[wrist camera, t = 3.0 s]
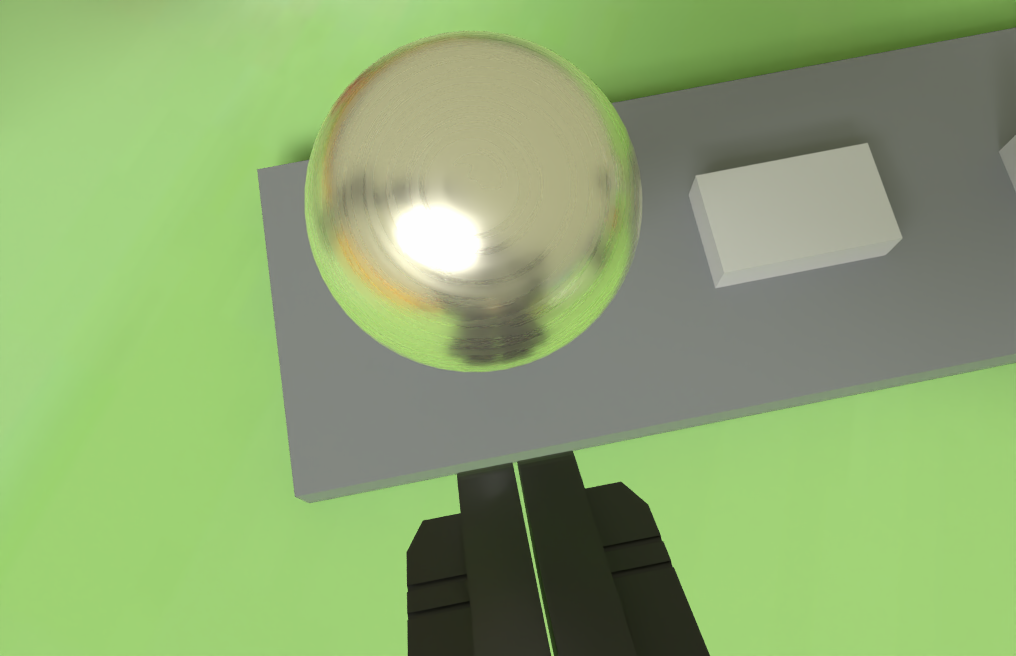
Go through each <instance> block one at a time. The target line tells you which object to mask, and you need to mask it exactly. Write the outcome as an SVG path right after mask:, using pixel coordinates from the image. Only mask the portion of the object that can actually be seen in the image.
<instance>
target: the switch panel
mask: <svg viewBox="0 0 1016 656" xmlns="http://www.w3.org/2000/svg"><path fill="white" fill-rule="evenodd" d="M611 104H612V105H613V106H614V108H615V109H616V111H617V113H618V115H619V116H620V118H621V120H622V122H623V124H624V125H625V127H626V129H627V132H628V135H629V137H630V140H631V142H632V145H633V147H634V150H635V154H636V158H637V162H638V166H639V170H640V178H641V187H642V220H641V227H640V234H639V240H638V244H637V247H636V251H635V254H634V258H633V261H632V263H631V266H630V268H629V270H628V273H627V275H626V277H625V280H624V281H623V283H622V285H621V287H620V288H619V290H618V292H617V293H616V295H615V297H614V299H613V300H612V301H611V302H610V304H609V305H608V306H607V308H606V309H605V310H604V311H603V313H602V314H601V315H600V316H599V317H598V318H597V319H596V320H595V321H594V322H593V323H592V324H591V325H590V326H589V327H588V328H587V329H586V330H585V331H584V332H583V333H582V334H580V335H579V336H578V337H576V338H575V339H574V340H572V341H571V342H570V343H568V344H567V345H565V346H564V347H562V348H560V349H558V350H557V351H555V352H553V353H551V354H550V355H548V356H545V357H543V358H540V359H538V360H536V361H533V362H531V363H528V364H525V365H521V366H517V367H513V368H510V369H505V370H497V371H489V372H459V371H452V370H444V369H439V368H435V367H431V366H428V365H424V364H420V363H418V362H415V361H413V360H410V359H408V358H406V357H403V356H401V355H399V354H397V353H395V352H394V351H392V350H390V349H388V348H387V347H385V346H383V345H381V344H380V343H378V342H377V341H376V340H375V339H373V338H372V337H371V336H369V335H368V334H367V333H365V332H364V331H363V330H362V329H361V328H360V327H359V326H358V325H357V324H356V323H355V322H354V321H353V320H352V319H351V318H350V317H349V316H348V315H347V314H346V313H345V312H344V310H343V309H342V308H341V306H340V305H339V304H338V302H337V301H336V300H335V299H334V297H333V296H332V294H331V292H330V290H329V289H328V287H327V285H326V284H325V282H324V280H323V278H322V276H321V274H320V271H319V269H318V267H317V264H316V262H315V259H314V257H313V253H312V250H311V246H310V242H309V239H308V234H307V227H306V219H305V182H306V174H307V167H308V163H309V160H305V161H300V162H295V163H289V164H284V165H279V166H273V167H268V168H263V169H257V171H258V180H259V189H260V197H261V206H262V215H263V223H264V232H265V241H266V249H267V258H268V267H269V275H270V284H271V293H272V301H273V310H274V319H275V328H276V336H277V345H278V354H279V362H280V371H281V380H282V388H283V397H284V406H285V414H286V423H287V432H288V440H289V449H290V458H291V466H292V475H293V484H294V493H295V497H297V498H299V499H301V500H303V501H306V502H308V503H312V502H317V501H322V500H327V499H332V498H337V497H342V496H347V495H352V494H357V493H362V492H367V491H372V490H377V489H382V488H388V487H393V486H398V485H403V484H408V483H413V482H418V481H423V480H428V479H433V478H438V477H443V476H448V475H453V474H457V473H459V472H464V471H470V470H475V469H480V468H485V467H490V466H495V465H501V464H506V463H511V462H512V463H513V462H517V461H520V460H525V459H530V458H535V457H541V456H546V455H551V454H556V453H561V452H566V451H573V450H579V449H584V448H589V447H594V446H599V445H604V444H609V443H614V442H619V441H624V440H629V439H634V438H639V437H644V436H649V435H654V434H659V433H664V432H669V431H674V430H679V429H684V428H689V427H694V426H699V425H704V424H709V423H714V422H719V421H724V420H729V419H734V418H739V417H744V416H749V415H754V414H759V413H764V412H770V411H775V410H780V409H785V408H790V407H795V406H800V405H805V404H810V403H815V402H820V401H825V400H830V399H835V398H840V397H845V396H850V395H855V394H860V393H865V392H870V391H875V390H880V389H885V388H890V387H895V386H900V385H905V384H910V383H915V382H920V381H925V380H930V379H935V378H940V377H945V376H950V375H955V374H961V373H966V372H971V371H976V370H981V369H986V368H991V367H996V366H1001V365H1006V364H1011V363H1016V28H1010V29H1005V30H1000V31H994V32H989V33H984V34H978V35H973V36H968V37H962V38H957V39H952V40H946V41H941V42H936V43H930V44H925V45H920V46H914V47H909V48H904V49H898V50H893V51H888V52H882V53H877V54H872V55H866V56H861V57H856V58H850V59H845V60H840V61H834V62H829V63H824V64H818V65H813V66H808V67H802V68H797V69H792V70H786V71H781V72H775V73H770V74H765V75H759V76H754V77H749V78H743V79H738V80H733V81H727V82H722V83H717V84H711V85H706V86H701V87H695V88H690V89H685V90H679V91H674V92H669V93H663V94H658V95H653V96H647V97H642V98H637V99H631V100H626V101H621V102H615V103H611Z"/></svg>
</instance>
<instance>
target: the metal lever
mask: <svg viewBox="0 0 1016 656" xmlns="http://www.w3.org/2000/svg"><path fill="white" fill-rule="evenodd" d="M305 219H306V227H307V234H308V239H309V242H310V246H311V250H312V253H313V257H314V259H315V262H316V264H317V267H318V269H319V271H320V274H321V276H322V278H323V280H324V282H325V284H326V285H327V287H328V289H329V290H330V292H331V294H332V296H333V297H334V299H335V300H336V301H337V302H338V304H339V305H340V306H341V308H342V309H343V310H344V312H345V313H346V314H347V315H348V316H349V317H350V318H351V319H352V320H353V321H354V322H355V323H356V324H357V325H358V326H359V327H360V328H361V329H362V330H363V331H364V332H365V333H367V334H368V335H369V336H371V337H372V338H373V339H375V340H376V341H377V342H378V343H380V344H381V345H383V346H385V347H387V348H388V349H390V350H392V351H394V352H395V353H397V354H399V355H401V356H403V357H406V358H408V359H410V360H413V361H415V362H418V363H420V364H424V365H428V366H431V367H435V368H439V369H444V370H452V371H459V372H489V371H497V370H505V369H510V368H513V367H517V366H521V365H525V364H528V363H531V362H533V361H536V360H538V359H540V358H543V357H545V356H548V355H550V354H551V353H553V352H555V351H557V350H558V349H560V348H562V347H564V346H565V345H567V344H568V343H570V342H571V341H572V340H574V339H575V338H576V337H578V336H579V335H580V334H582V333H583V332H584V331H585V330H586V329H587V328H588V327H589V326H590V325H591V324H592V323H593V322H594V321H595V320H596V319H597V318H598V317H599V316H600V315H601V314H602V313H603V311H604V310H605V309H606V308H607V306H608V305H609V304H610V302H611V301H612V300H613V299H614V297H615V295H616V293H617V292H618V290H619V288H620V287H621V285H622V283H623V281H624V280H625V277H626V275H627V273H628V270H629V268H630V266H631V263H632V261H633V258H634V254H635V251H636V247H637V244H638V240H639V234H640V227H641V220H642V187H641V178H640V170H639V166H638V162H637V158H636V154H635V150H634V147H633V145H632V142H631V140H630V137H629V135H628V132H627V129H626V127H625V125H624V124H623V122H622V120H621V118H620V116H619V115H618V113H617V111H616V109H615V108H614V106H613V105H612V104H611V102H610V101H609V100H608V98H607V97H606V96H605V94H604V93H603V92H602V90H601V89H600V88H599V87H598V86H597V85H596V84H595V83H594V82H593V81H592V80H591V79H590V78H589V77H588V76H587V75H586V74H585V73H584V72H582V71H581V70H580V69H579V68H577V67H576V66H575V65H574V64H572V63H571V62H570V61H568V60H567V59H565V58H563V57H562V56H560V55H558V54H557V53H555V52H553V51H552V50H550V49H548V48H545V47H543V46H541V45H539V44H536V43H534V42H532V41H529V40H526V39H522V38H519V37H515V36H512V35H508V34H502V33H495V32H488V31H458V32H450V33H442V34H438V35H434V36H430V37H426V38H422V39H419V40H416V41H414V42H411V43H409V44H406V45H404V46H401V47H399V48H397V49H396V50H394V51H392V52H390V53H388V54H387V55H385V56H383V57H381V58H380V59H378V60H377V61H376V62H375V63H373V64H372V65H371V66H369V67H368V68H367V69H365V70H364V71H363V72H362V73H361V74H360V75H359V76H358V77H357V78H355V79H354V80H353V81H352V82H351V83H350V84H349V85H348V86H347V87H346V89H345V90H344V91H343V93H342V94H341V95H340V97H339V98H338V99H337V100H336V102H335V103H334V104H333V106H332V108H331V109H330V111H329V113H328V114H327V116H326V118H325V120H324V121H323V123H322V125H321V127H320V130H319V132H318V135H317V137H316V139H315V142H314V144H313V148H312V152H311V155H310V159H309V163H308V167H307V174H306V182H305Z"/></svg>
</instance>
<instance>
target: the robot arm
mask: <svg viewBox="0 0 1016 656" xmlns="http://www.w3.org/2000/svg"><path fill="white" fill-rule="evenodd" d="M517 463H518V469H519V475H520V481H521V486H522V492H523V497H524V503H525V508H526V514H527V519H528V525H529V530H530V536H531V541H532V547H533V552H534V558H535V563H536V568H537V574H538V579H539V584H540V589H541V594H542V599H543V604H544V609H545V614H546V619H547V624H548V629H549V633H550V638H551V643H552V648H553V653H554V656H710V655H709V652H708V650H707V647H706V645H705V643H704V640H703V638H702V635H701V633H700V630H699V628H698V625H697V623H696V621H695V618H694V616H693V613H692V611H691V608H690V606H689V603H688V601H687V599H686V596H685V594H684V591H683V589H682V586H681V584H680V581H679V579H678V577H677V574H676V572H675V569H674V567H672V564H671V559H670V557H669V555H668V552H667V550H666V547H665V545H664V542H663V541H662V540H661V535H660V533H659V530H658V528H657V525H656V523H655V520H654V518H653V515H652V513H651V511H650V508H649V506H648V504H647V503H646V502H644V501H643V500H642V499H641V498H640V497H638V496H637V495H636V494H635V493H634V492H633V491H631V490H630V489H629V488H628V487H627V486H626V485H624V484H623V483H622V482H617V483H612V484H607V485H602V486H597V487H592V488H587V489H585V488H584V485H583V482H582V478H581V475H580V472H579V469H578V466H577V462H576V459H575V456H574V453H573V451H566V452H561V453H556V454H551V455H546V456H541V457H535V458H530V459H525V460H520V461H517ZM457 480H458V490H459V500H460V510H461V513H460V514H455V515H450V516H444V517H439V518H434V519H429V520H424V521H422V523H421V525H420V527H419V529H418V531H417V533H416V535H415V537H414V539H413V541H412V543H411V545H410V547H409V549H408V551H407V587H408V592H407V614H408V620H407V622H408V656H551V653H550V648H549V643H548V638H547V633H546V628H545V623H544V618H543V613H542V608H541V603H540V598H539V593H538V588H537V583H536V578H535V573H534V568H533V563H532V558H531V553H530V548H529V543H528V538H527V533H526V528H525V523H524V518H523V513H522V508H521V503H520V498H519V493H518V488H517V483H516V478H515V473H514V468H513V463H512V462H511V463H506V464H501V465H495V466H490V467H485V468H480V469H475V470H470V471H464V472H459V473H457Z"/></svg>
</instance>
